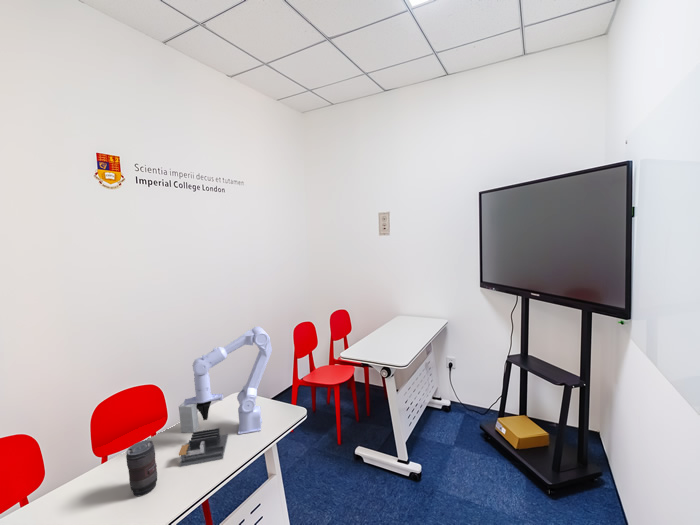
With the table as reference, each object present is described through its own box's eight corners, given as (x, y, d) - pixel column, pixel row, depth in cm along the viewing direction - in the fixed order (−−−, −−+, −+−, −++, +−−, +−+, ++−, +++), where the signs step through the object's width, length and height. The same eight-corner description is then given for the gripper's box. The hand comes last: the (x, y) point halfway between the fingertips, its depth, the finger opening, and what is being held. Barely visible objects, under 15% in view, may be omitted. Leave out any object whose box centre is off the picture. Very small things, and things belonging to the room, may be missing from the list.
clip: (205, 451, 128) (204, 441, 127) (204, 455, 125) (203, 444, 125) (182, 455, 126) (181, 444, 125) (180, 459, 124) (179, 448, 123)
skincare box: (199, 427, 147) (197, 401, 145) (194, 432, 142) (191, 406, 141) (186, 426, 147) (184, 401, 146) (180, 432, 143) (178, 406, 142)
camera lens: (154, 475, 118) (150, 436, 116) (161, 487, 112) (157, 446, 111) (128, 488, 112) (123, 447, 111) (133, 502, 107) (128, 458, 105)
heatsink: (227, 436, 139) (227, 425, 138) (222, 458, 125) (221, 447, 125) (188, 443, 136) (187, 432, 135) (179, 466, 122) (178, 454, 121)
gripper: (223, 380, 140) (225, 410, 142) (186, 385, 137) (189, 416, 138) (220, 388, 133) (223, 419, 135) (181, 393, 130) (184, 425, 132)
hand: (205, 418), depth 136 cm, fingers closed
